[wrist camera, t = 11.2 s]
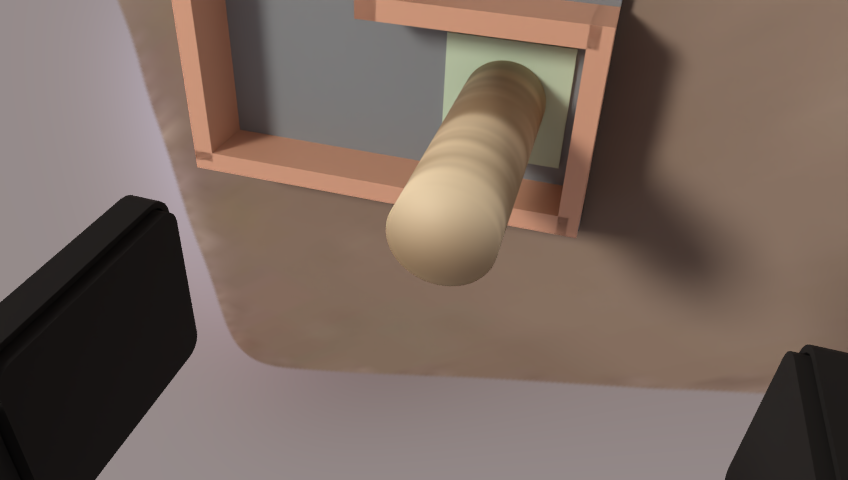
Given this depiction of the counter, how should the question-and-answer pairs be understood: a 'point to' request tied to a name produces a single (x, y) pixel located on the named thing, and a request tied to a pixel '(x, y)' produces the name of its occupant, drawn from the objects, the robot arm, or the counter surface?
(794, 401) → the robot arm
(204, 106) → the track
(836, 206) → the counter surface
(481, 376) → the counter surface
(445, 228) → the peg
